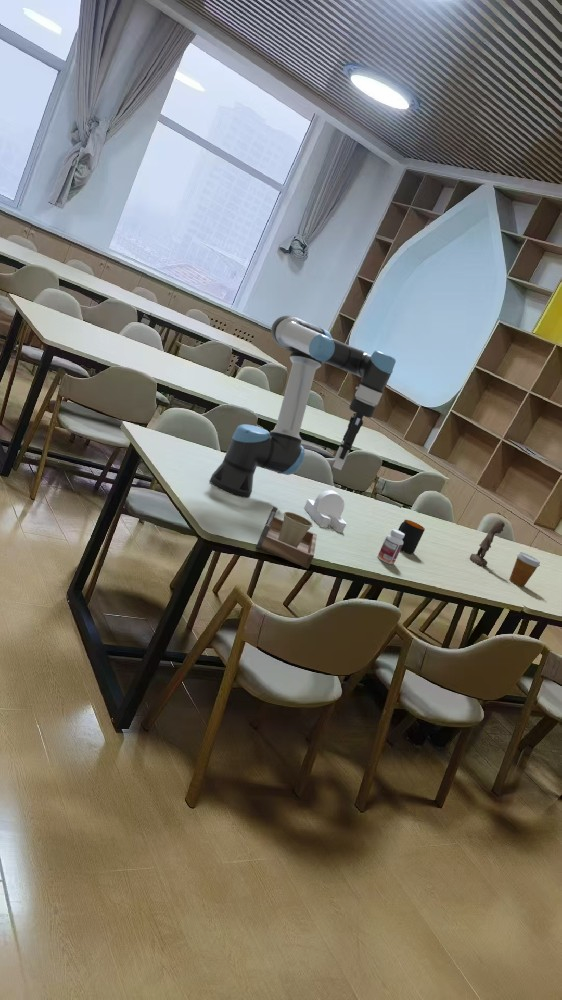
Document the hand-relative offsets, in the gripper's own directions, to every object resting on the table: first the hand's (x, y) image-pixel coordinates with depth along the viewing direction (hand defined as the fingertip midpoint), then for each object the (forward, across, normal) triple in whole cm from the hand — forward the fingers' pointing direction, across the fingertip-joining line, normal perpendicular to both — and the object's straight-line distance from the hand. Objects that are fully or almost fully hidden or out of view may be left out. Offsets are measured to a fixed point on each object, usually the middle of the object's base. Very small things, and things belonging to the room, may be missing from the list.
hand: (337, 464), depth 236 cm
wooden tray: (+26, +15, -5) cm, 31 cm away
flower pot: (+26, +15, -5) cm, 30 cm away
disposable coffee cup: (+27, -69, +90) cm, 116 cm away
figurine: (+27, -77, +74) cm, 110 cm away
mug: (+27, -46, +37) cm, 65 cm away
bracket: (+27, -37, +5) cm, 46 cm away
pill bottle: (+27, -17, +29) cm, 43 cm away
